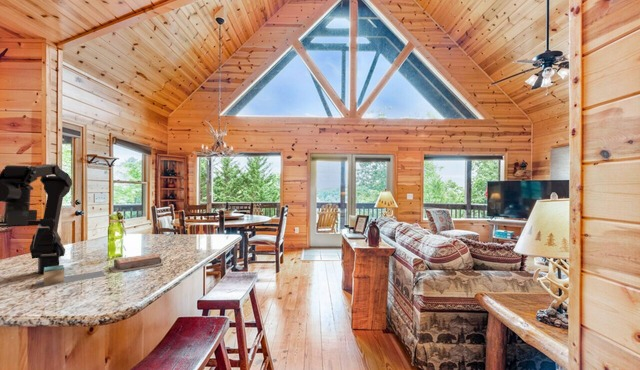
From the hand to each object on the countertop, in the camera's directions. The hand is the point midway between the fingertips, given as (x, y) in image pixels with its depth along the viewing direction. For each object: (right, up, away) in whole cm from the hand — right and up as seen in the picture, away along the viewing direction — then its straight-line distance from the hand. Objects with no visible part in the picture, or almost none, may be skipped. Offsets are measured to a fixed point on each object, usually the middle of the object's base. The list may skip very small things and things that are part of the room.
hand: (14, 250), depth 96 cm
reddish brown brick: (+22, -14, +29) cm, 39 cm away
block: (+6, -13, +8) cm, 16 cm away
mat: (+9, -13, +11) cm, 20 cm away
